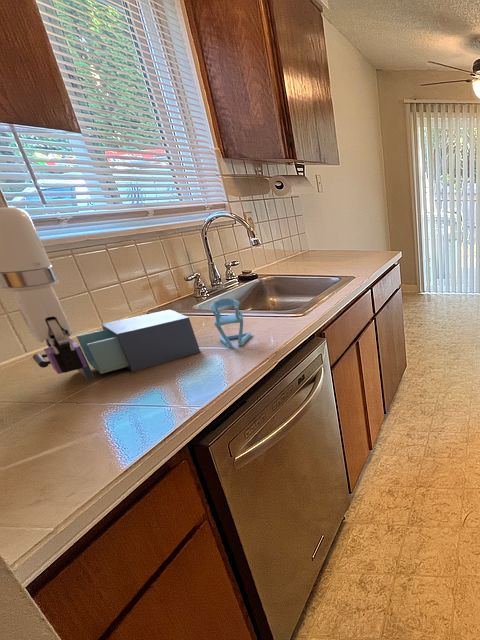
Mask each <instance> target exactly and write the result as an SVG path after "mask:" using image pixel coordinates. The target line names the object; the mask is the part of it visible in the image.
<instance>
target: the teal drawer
mask: <svg viewBox="0 0 480 640" xmlns="http://www.w3.org/2000/svg"><path fill="white" fill-rule="evenodd" d="M75 337H76V339H77V340H78V343H77V342H76V341H74V340H73V339H72V338H70V337H69V339H70V341H71V343H72V342H73V343H74V344H75V345H76V346H78V347H79V349H80V352H81V354H82V356H83V358H84V360H85V363H86V365H87V367H83V368H81V369H77V372H79V373H80V374H81V375H82V376H83V377H84V378H85V379H86V380H87V381H89V380H93V379H95V375H94V374H93V372H92V368H93V369H95V370H96V371H97V372H98V374H100V375H103V374H106V373H110V372H113V371H117V370H120V369H123V368H127V366H129V364H128V361H127V359H126V357H125V354H124V352H123V349H122V347H121V345H120V342H119V340H118V337H117V336H115V335H114V334H112V333H111V332H109V331H108V330H106V329H104V330H103V329H100V330H95V331H91V332H86V333H82V334H77V335H75ZM45 358H48V357H47V355H46V353H43V354H40V353H35V354H33V355H32V359H33V361H34V362H35V363H36V364H37V365H38V366H39V367H40V368H43V369H44V368H47V367H49V365H51V363H50V361H49V360H47V359H45ZM90 366H91V367H92V368H91V367H90Z"/></svg>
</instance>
